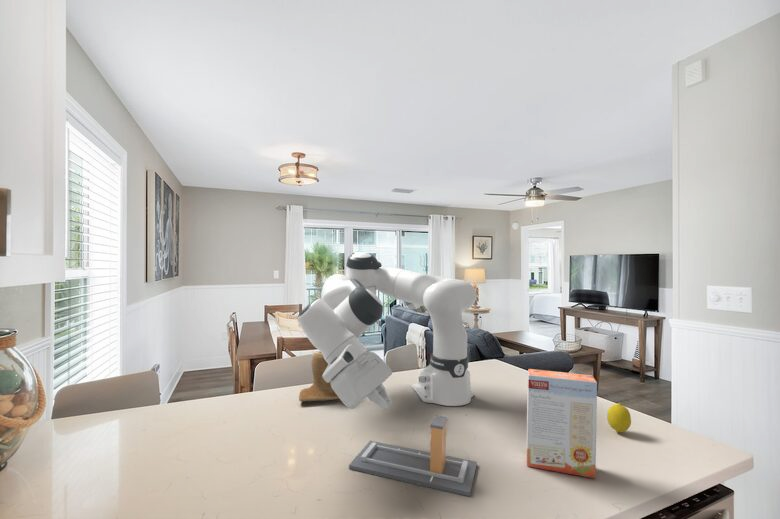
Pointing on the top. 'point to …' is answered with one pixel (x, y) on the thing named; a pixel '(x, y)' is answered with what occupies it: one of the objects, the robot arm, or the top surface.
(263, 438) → the top surface
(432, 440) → the fader cap
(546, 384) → the cracker box
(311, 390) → the tan ugg boot
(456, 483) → the grey fader base
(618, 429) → the lemon
